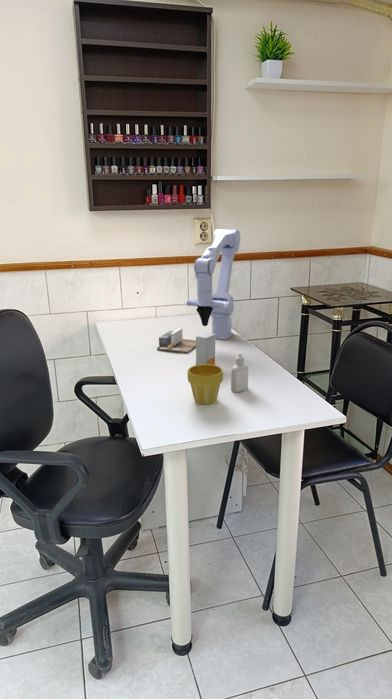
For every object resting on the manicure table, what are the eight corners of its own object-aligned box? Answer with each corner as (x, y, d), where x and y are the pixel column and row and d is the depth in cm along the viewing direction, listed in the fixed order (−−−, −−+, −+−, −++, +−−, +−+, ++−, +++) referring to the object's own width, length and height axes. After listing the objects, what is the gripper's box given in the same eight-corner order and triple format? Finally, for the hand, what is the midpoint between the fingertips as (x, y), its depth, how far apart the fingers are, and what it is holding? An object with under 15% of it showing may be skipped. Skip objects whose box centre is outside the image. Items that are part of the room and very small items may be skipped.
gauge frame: (172, 339, 204) (172, 329, 202) (201, 343, 199) (201, 332, 198) (156, 350, 191) (155, 339, 190) (186, 354, 186) (186, 343, 185)
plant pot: (202, 390, 154) (202, 361, 151) (229, 398, 148) (230, 368, 145) (181, 401, 147) (180, 370, 144) (208, 410, 140) (208, 379, 137)
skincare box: (205, 371, 169) (205, 338, 165) (195, 369, 172) (195, 336, 168) (215, 366, 174) (215, 333, 170) (206, 364, 176) (205, 331, 172)
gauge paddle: (179, 339, 199) (179, 328, 197) (182, 339, 199) (182, 328, 197) (167, 348, 189) (166, 336, 188) (170, 348, 189) (169, 336, 187)
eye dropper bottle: (250, 391, 153) (250, 355, 149) (232, 393, 152) (232, 356, 148) (246, 386, 157) (247, 350, 153) (229, 387, 156) (229, 351, 152)
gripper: (182, 291, 185) (183, 326, 189) (218, 294, 179) (218, 330, 183) (190, 287, 191) (191, 321, 195) (225, 290, 185) (225, 325, 189)
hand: (205, 325), depth 190 cm, fingers closed
